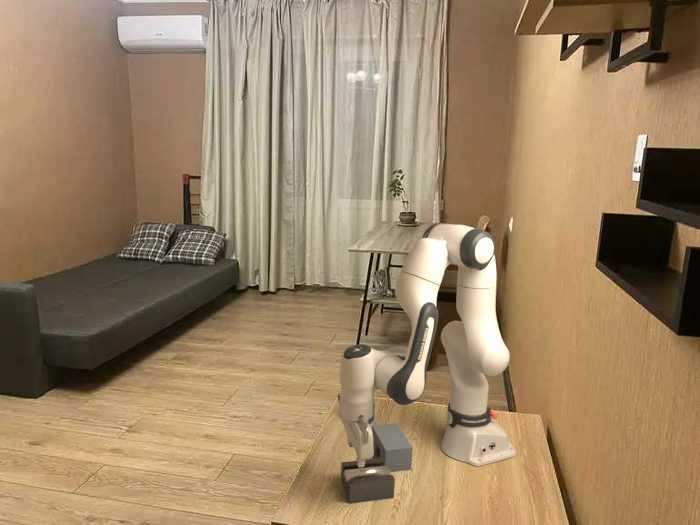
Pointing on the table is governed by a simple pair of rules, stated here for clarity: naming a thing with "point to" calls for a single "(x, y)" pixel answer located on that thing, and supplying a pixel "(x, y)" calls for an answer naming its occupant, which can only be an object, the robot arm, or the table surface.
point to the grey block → (392, 446)
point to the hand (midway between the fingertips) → (355, 455)
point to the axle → (366, 472)
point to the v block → (367, 483)
